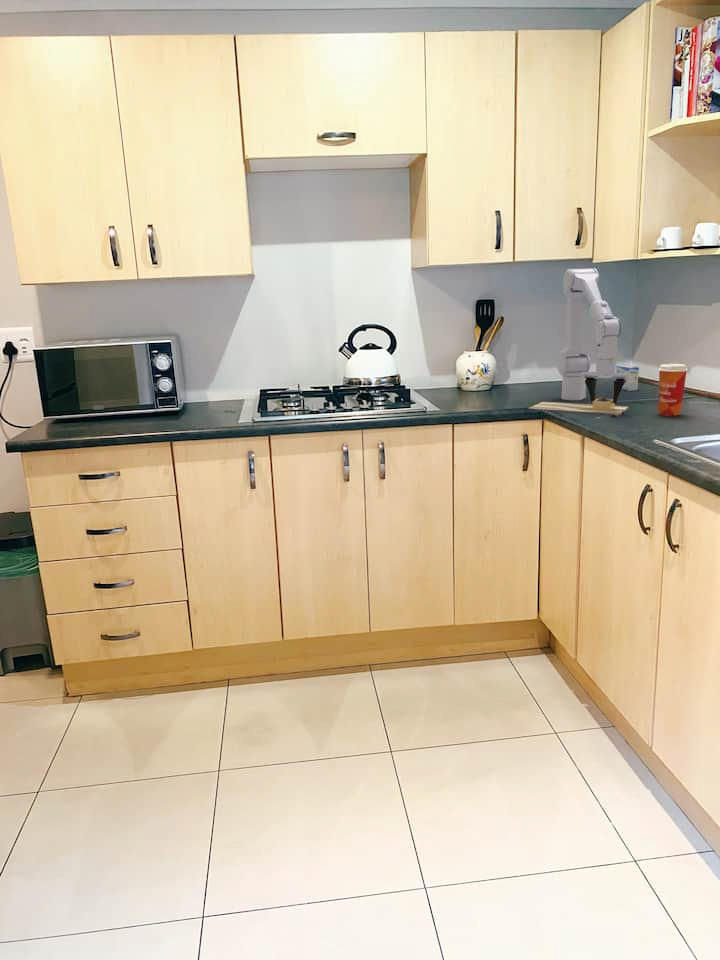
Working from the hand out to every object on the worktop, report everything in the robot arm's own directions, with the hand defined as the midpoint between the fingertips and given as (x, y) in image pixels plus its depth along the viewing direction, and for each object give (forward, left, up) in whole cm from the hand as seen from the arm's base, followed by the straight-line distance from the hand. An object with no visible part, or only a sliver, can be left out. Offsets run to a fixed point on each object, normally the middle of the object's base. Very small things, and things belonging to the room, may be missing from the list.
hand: (603, 402), depth 226 cm
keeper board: (0, -8, -3) cm, 9 cm away
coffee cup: (-3, +19, -3) cm, 20 cm away
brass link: (0, 0, -2) cm, 2 cm away
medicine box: (-51, -5, -3) cm, 51 cm away
